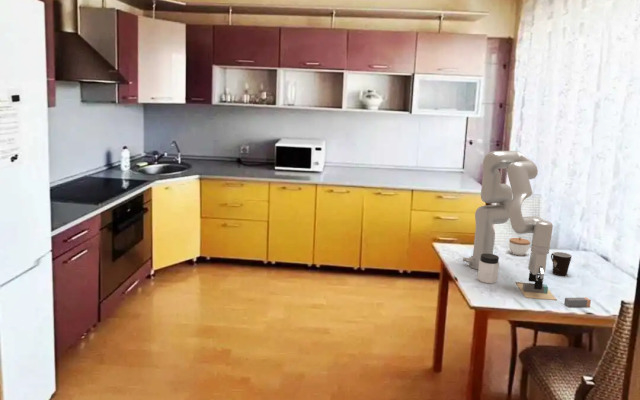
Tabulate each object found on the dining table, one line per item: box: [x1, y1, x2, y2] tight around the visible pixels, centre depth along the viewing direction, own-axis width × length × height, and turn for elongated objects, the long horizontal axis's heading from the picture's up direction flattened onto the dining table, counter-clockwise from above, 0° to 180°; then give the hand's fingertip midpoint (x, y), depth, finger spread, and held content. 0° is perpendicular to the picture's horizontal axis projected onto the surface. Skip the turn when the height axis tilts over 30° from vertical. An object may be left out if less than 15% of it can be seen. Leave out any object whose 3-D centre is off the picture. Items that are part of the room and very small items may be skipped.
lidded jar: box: [508, 237, 531, 257], centre depth 315 cm, size 11×11×9 cm
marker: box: [522, 282, 549, 293], centre depth 255 cm, size 10×3×3 cm, turn 84°
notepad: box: [515, 281, 557, 301], centre depth 257 cm, size 13×19×1 cm
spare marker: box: [563, 297, 592, 308], centre depth 241 cm, size 10×3×3 cm, turn 99°
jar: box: [476, 253, 500, 284], centre depth 267 cm, size 9×8×12 cm
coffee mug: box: [550, 251, 573, 277], centre depth 284 cm, size 12×9×10 cm
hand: (534, 285), depth 256 cm, fingers open, 9 cm apart
